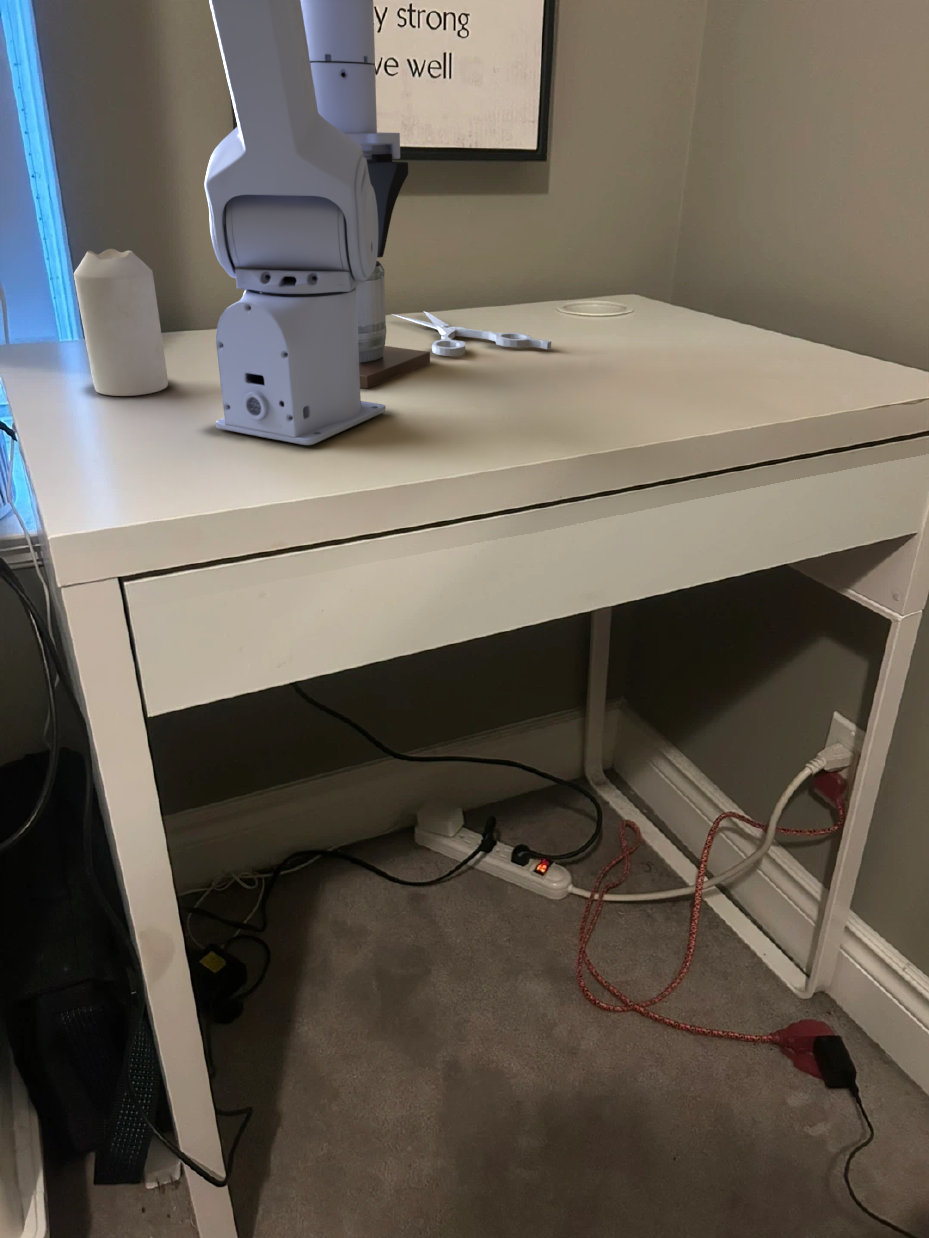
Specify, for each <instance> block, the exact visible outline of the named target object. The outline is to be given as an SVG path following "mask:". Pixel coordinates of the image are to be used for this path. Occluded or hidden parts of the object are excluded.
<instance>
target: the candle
mask: <svg viewBox="0 0 929 1238" xmlns="http://www.w3.org/2000/svg"><path fill="white" fill-rule="evenodd" d="M73 279H74V286H75V290H76V295H77V302H78V306H79V307H78V308H79V312H80V318H81V323H82V328H83V329H82V330H83V334H84V340H85V345H86V351H87V357H88V361H89V362H88V363H89V366H90V367H89V368H90V372H91V378H92V383H93V388H94V390H95V392H97V393H98V394H102V395H106V396H117V397H119V396H120V397H132V396H141V395H142V396H143V395H147V394H152V393H156V392H160V391H162V390H164V389H166V388H167V387H168V386H169V378H168V371H167V369H168V368H167V364H166V363H167V362H166V356H165V350H164V343H163V336H162V335H163V334H162V327H161V322H160V314H159V308H158V301H157V294H156V285H155V279H154V273H153V270H152V268H150V267H149V266H148V265H147V264H146V262H144V261H143V260H142V259H141V258H140V257H139V256H137V255H136V253H134V252H133V251H132V250H125V251H122V252H121V251H118V250H117V249H114V248H107V249H105V250H104V251H102V252H101V253H99V254H97V253H95V252H94V251H93V250H87V251H86V253H85V255H84V257H83V258H82V260H81V261H80V263H79V265H78V266H77V268H76V269H75V271H74V272H73Z"/></svg>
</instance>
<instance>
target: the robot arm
mask: <svg viewBox="0 0 929 1238" xmlns="http://www.w3.org/2000/svg"><path fill="white" fill-rule="evenodd" d="M208 1H209V7H210V12H211V16H212V20H213V25H214V28H215V33H216V38H217V41H218V46H219V50H220V54H221V58H222V63H223V67H224V72H225V76H226V80H227V85H228V89H229V95H230V97H231V102H232V107H233V110H234V116H235V119H236V123H237V124H236V125H237V126H236V127H235V128H234V129H233V130H232V131H230V133H228V135H226V136H225V137H224V138H223V139H222V140H221V141H220V142H219V144H218V145H217V146H216V147H215V149H214V150H213V152H212V154H211V155H210V158H209V161H208V164H207V169H206V174H205V178H204V190H205V195H206V199H207V200H206V201H207V205H208V213H209V215H208V217H209V231H210V236H211V243H212V247H213V251H214V254H215V257H216V259H217V261H218V263H219V265H220V266H221V267H222V268H223V270H224V271H225V272H226V274H227V275H228V276H229V277H231V278H232V279H235V283H236V289H237V290H244V292H243V295H242V297H241V298H240V299H239V300H238V301H236V302H234V303H232V304H231V305H229V306H228V307H226V308H225V309H224V311H223V312H222V313H221V315H220V317H219V320H218V323H217V326H216V332H215V347H216V355H217V356H216V357H217V363H218V372H219V380H220V381H219V382H220V389H221V399H222V408H223V415H224V417H222V418H220V419H218V420H216V422H215V428H217V429H219V430H223V431H229V432H233V433H234V432H235V433H240V434H245V435H250V436H255V437H261V438H266V439H272V440H275V441H282V442H287V443H292V444H296V445H297V444H298V445H302V446H313V445H315V444H317V443H320V442H321V441H324V440H326V439H328V438H331V437H333V436H335V435H337V434H339V433H342V432H344V431H346V430H348V429H350V428H353V427H355V426H357V425H359V424H361V423H363V422H366V421H368V420H370V419H373V418H374V417H376V416H379V415H381V414H383V413H385V412H386V409H387V408H386V405H385V404H382V403H377V402H370V401H363V400H362V399H361V387H360V373H359V349H358V325H357V301H356V286H357V285H358V284H359V283H361V281H366V280H367V279H368V277H369V276H370V274H371V273H372V272H373V271H374V269H375V266H376V261H378V258H379V259H380V258H384V255H385V250H386V245H387V239H388V235H389V229H390V225H391V224H390V223H391V220H392V216H393V212H394V209H395V205H396V202H397V199H398V198H399V194H400V191H401V189H402V187H403V186H404V183H405V182H406V179H407V177H408V175H409V162H408V161H393V160H400V159H401V133H400V132H378V121H377V120H378V119H377V86H376V84H377V83H376V82H377V80H376V53H375V52H376V51H375V49H376V47H375V45H376V43H375V42H376V41H375V12H374V11H375V10H374V0H208Z"/></svg>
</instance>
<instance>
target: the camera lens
mask: <svg viewBox="0 0 929 1238" xmlns="http://www.w3.org/2000/svg"><path fill="white" fill-rule="evenodd" d="M385 275H386V274H385V268H384V266H383V264H382V263H381V262H380V261H379V260H377V261H376V266H375V269H374V271H373V272H372V273H371V274H370V276H369V277H368V279H367V280H366V281H361V283H359V284H358V285H357V286H356V301H357V325H358V349H359V363H363V362H370V361H374V360H377V359H379V358H381V357H382V356H383V350H384V346H386V339H387V322H386V320H387V319H386V318H387V317H386V316H387V315H386V286H385V285H386V284H385V281H386V280H385Z"/></svg>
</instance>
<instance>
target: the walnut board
mask: <svg viewBox="0 0 929 1238" xmlns="http://www.w3.org/2000/svg"><path fill="white" fill-rule="evenodd" d="M429 364H431V351H426V350H425V351H424V350H419V349H412V348H403V347H396V346H389V345H385V346H384V350H383V356H382V357H381V358H379V359H377V360H374V361H370V362H363V363H359V373H360V389H367V390H368V389H370V388H372V387H375V386H377V385H378V386H379V385H381V384H382V383H384V382H387V381H390V380H392V379H395V378H397V377H399V376H403V375H405V374H406V373H409V372H412V371H414V370H416V369H419V368H422V367H424V366H426V365H429Z"/></svg>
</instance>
